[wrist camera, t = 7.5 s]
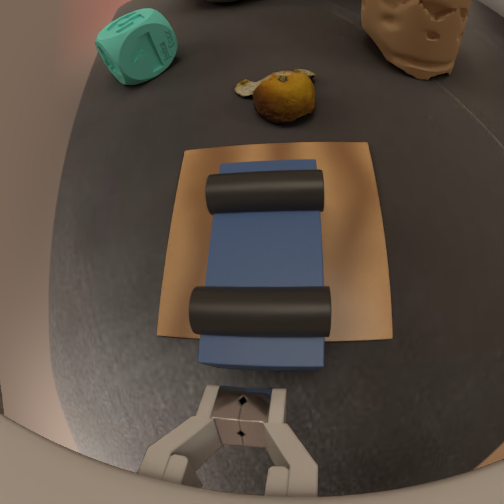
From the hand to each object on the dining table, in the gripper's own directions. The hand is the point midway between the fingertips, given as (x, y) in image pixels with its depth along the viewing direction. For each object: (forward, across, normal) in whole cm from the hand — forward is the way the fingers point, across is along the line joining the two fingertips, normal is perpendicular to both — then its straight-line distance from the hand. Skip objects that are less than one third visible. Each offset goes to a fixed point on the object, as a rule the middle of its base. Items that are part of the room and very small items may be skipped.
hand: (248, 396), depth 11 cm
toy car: (+4, 0, +2) cm, 5 cm away
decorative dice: (+31, +17, -19) cm, 41 cm away
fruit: (+24, -1, -12) cm, 27 cm away
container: (+31, -17, -19) cm, 41 cm away
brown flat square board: (+14, 0, -2) cm, 14 cm away
